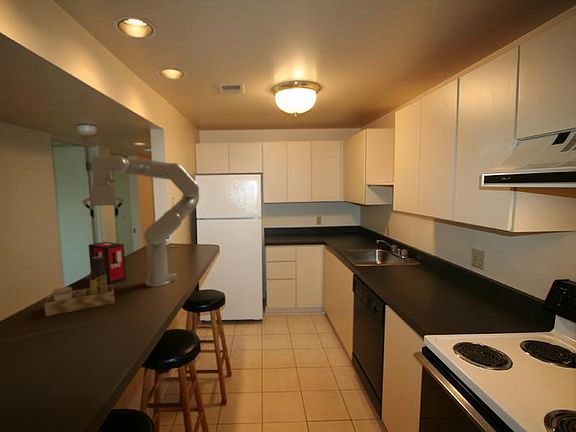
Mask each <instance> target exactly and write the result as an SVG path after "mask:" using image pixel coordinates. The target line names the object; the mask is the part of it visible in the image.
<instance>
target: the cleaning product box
mask: <svg viewBox="0 0 576 432" xmlns="http://www.w3.org/2000/svg"><path fill="white" fill-rule="evenodd" d="M124 247H125V245H124V244H123V243H116V242H109V241H102V242H97V243H91V244H88V254H89V255H88V257H89V267H90V272H91V271H92V269H93V261H92V258H93V257H99V256H102V257H103V268H104V270H105V273H106V275H107V285H115V284H118V283H122V282H124V281H127V276H126V274H127V273H126V264H125V263H126V260H125V248H124Z"/></svg>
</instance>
